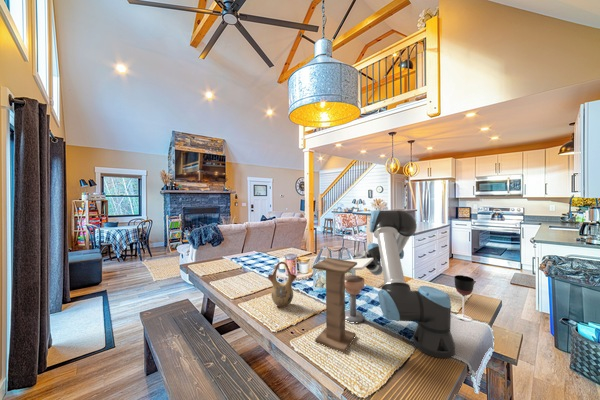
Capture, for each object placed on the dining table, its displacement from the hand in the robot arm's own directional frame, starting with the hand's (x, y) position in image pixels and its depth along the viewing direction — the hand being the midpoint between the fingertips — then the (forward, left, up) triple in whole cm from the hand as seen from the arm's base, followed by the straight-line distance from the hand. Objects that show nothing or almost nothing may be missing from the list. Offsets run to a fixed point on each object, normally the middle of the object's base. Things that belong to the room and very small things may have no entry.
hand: (359, 252), depth 129 cm
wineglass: (-40, -30, -31) cm, 59 cm away
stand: (-8, +30, -31) cm, 44 cm away
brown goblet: (-3, +10, -31) cm, 33 cm away
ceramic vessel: (+32, +28, -31) cm, 53 cm away
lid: (-2, +5, -4) cm, 7 cm away
